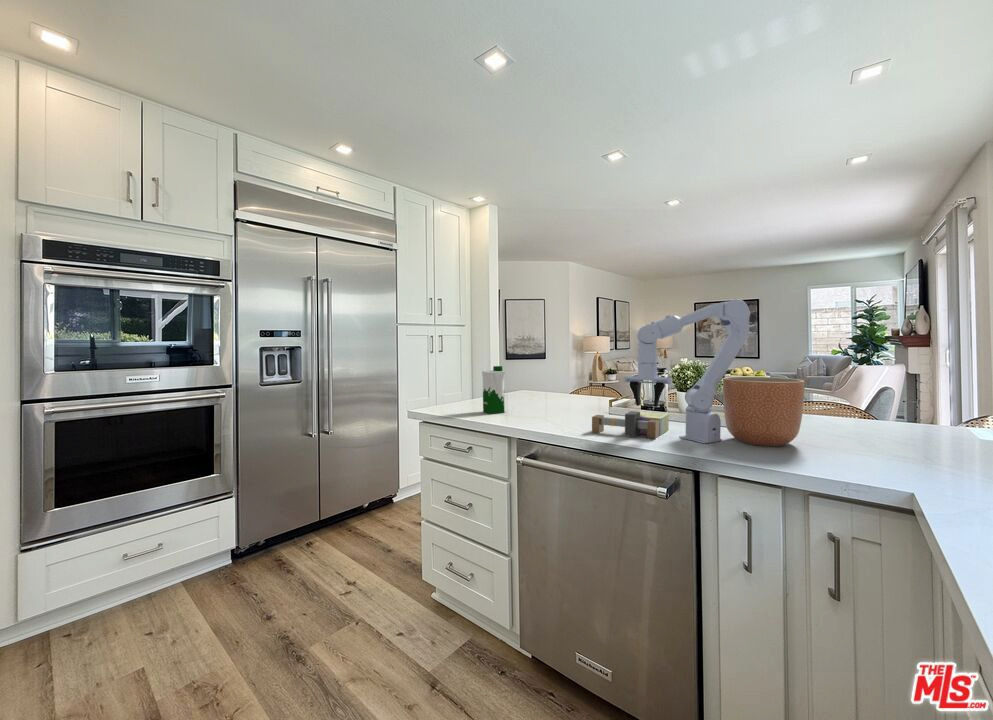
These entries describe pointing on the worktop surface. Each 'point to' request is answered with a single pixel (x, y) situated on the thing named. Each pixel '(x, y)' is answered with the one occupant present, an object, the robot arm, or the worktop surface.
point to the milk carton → (493, 390)
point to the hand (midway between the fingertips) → (647, 405)
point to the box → (655, 416)
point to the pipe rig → (600, 421)
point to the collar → (631, 423)
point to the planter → (763, 409)
